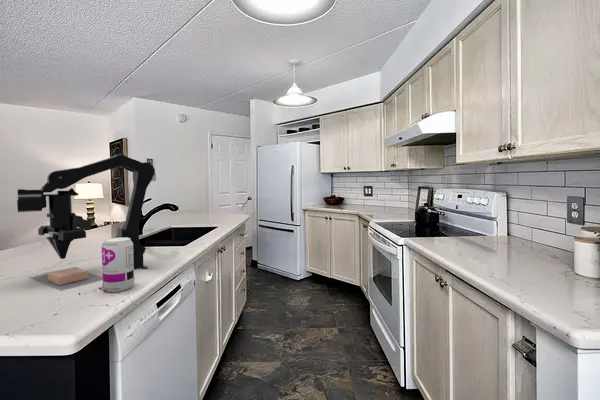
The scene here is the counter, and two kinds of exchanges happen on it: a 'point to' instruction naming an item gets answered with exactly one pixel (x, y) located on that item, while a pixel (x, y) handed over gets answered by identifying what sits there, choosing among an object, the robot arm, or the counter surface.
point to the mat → (91, 279)
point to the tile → (68, 276)
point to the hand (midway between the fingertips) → (62, 258)
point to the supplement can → (117, 264)
